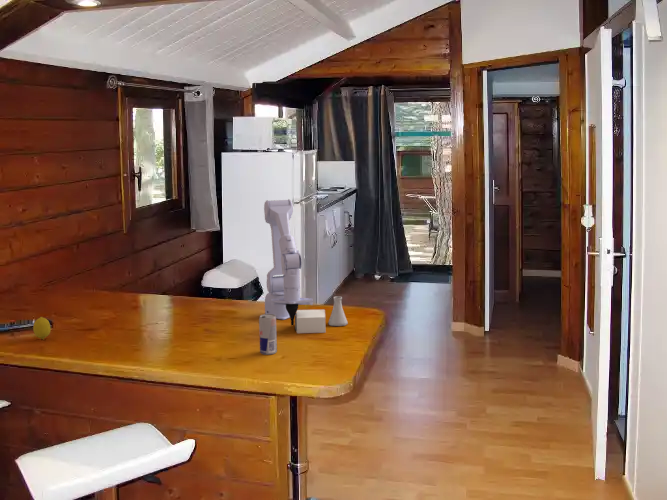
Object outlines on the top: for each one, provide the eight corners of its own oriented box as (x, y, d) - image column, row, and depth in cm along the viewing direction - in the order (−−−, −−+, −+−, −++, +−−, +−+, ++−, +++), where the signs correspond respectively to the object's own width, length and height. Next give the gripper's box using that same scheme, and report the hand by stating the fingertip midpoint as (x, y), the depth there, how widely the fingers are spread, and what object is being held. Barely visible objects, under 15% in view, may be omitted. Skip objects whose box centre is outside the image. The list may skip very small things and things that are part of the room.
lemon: (54, 338, 260) (53, 315, 258) (43, 342, 255) (42, 319, 253) (41, 336, 261) (39, 314, 260) (30, 341, 256) (28, 318, 255)
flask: (347, 326, 269) (346, 299, 267) (327, 326, 269) (326, 299, 268) (348, 321, 276) (348, 295, 274) (329, 321, 276) (328, 294, 275)
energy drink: (260, 350, 243) (259, 314, 240) (276, 349, 243) (275, 313, 241) (259, 355, 237) (258, 318, 235) (277, 354, 238) (276, 317, 236)
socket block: (295, 333, 261) (295, 317, 260) (296, 324, 272) (295, 310, 271) (325, 332, 262) (325, 317, 261) (324, 324, 273) (324, 309, 272)
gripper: (270, 290, 260) (271, 328, 262) (312, 289, 260) (313, 327, 263) (271, 285, 267) (272, 322, 269) (312, 284, 267) (313, 321, 270)
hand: (292, 324), depth 266 cm, fingers closed
